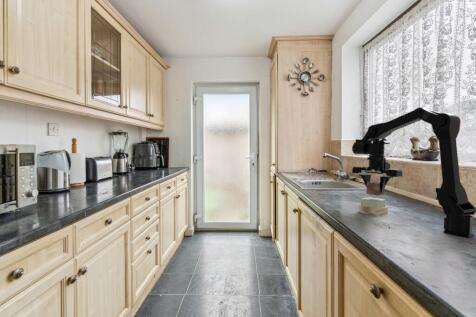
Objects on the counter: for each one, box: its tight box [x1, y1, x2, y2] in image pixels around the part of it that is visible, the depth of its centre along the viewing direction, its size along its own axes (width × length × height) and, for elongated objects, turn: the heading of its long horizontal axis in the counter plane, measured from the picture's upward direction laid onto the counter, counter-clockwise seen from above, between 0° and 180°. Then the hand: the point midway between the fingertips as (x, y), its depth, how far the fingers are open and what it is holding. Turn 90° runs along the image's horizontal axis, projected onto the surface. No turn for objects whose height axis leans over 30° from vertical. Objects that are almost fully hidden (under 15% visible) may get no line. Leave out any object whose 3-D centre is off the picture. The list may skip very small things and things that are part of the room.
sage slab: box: [360, 196, 387, 209], centre depth 116 cm, size 7×7×3 cm
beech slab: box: [358, 205, 389, 217], centre depth 115 cm, size 8×8×3 cm
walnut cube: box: [365, 180, 385, 197], centre depth 115 cm, size 5×5×5 cm
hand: (375, 191), depth 115 cm, fingers closed on walnut cube, 5 cm apart
